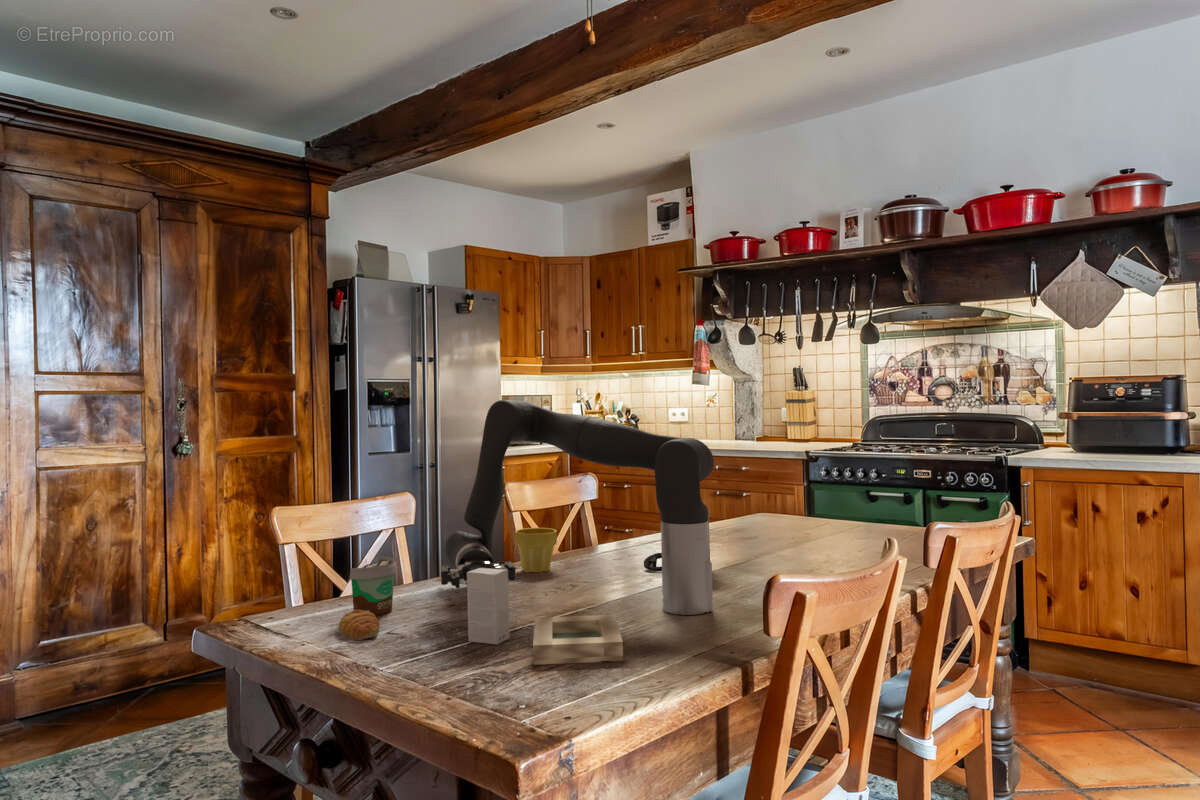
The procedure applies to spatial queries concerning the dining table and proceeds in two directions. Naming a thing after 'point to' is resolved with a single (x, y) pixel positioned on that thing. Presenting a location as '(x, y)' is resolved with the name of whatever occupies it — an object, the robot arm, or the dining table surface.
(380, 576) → the food container
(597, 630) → the holder
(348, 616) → the pastry
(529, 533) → the plant pot
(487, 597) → the skincare box
